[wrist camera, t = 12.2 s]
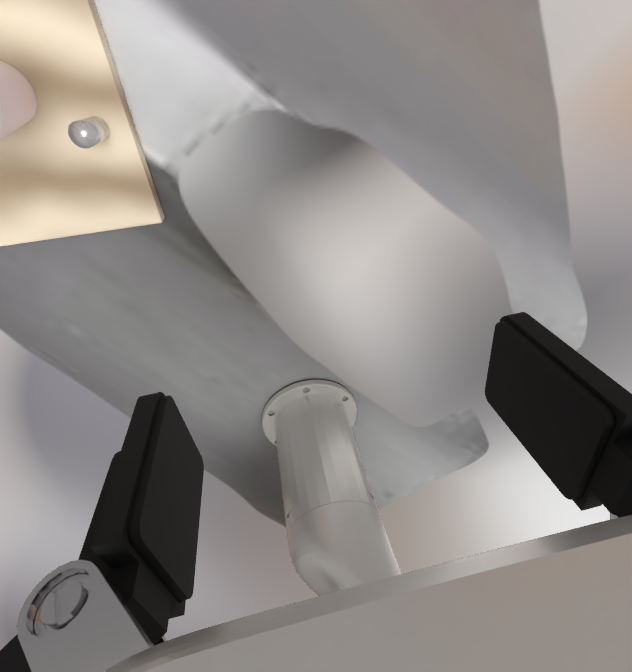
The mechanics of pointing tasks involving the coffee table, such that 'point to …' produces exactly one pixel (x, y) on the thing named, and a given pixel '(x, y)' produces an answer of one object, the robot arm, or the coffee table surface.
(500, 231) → the coffee table surface
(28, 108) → the smoothie
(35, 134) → the pin board
